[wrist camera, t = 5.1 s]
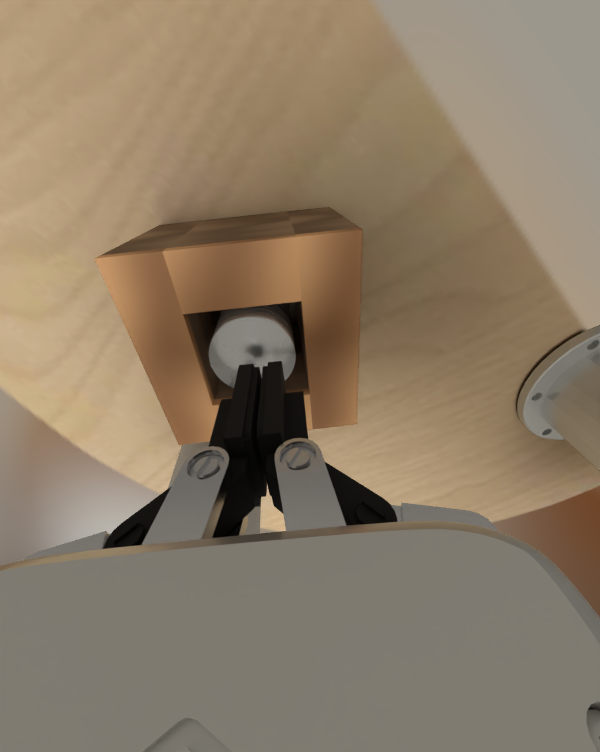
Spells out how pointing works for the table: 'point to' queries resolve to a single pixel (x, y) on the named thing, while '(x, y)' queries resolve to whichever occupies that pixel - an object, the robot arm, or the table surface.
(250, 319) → the peg
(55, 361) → the table surface
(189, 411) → the hole block
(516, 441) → the table surface
